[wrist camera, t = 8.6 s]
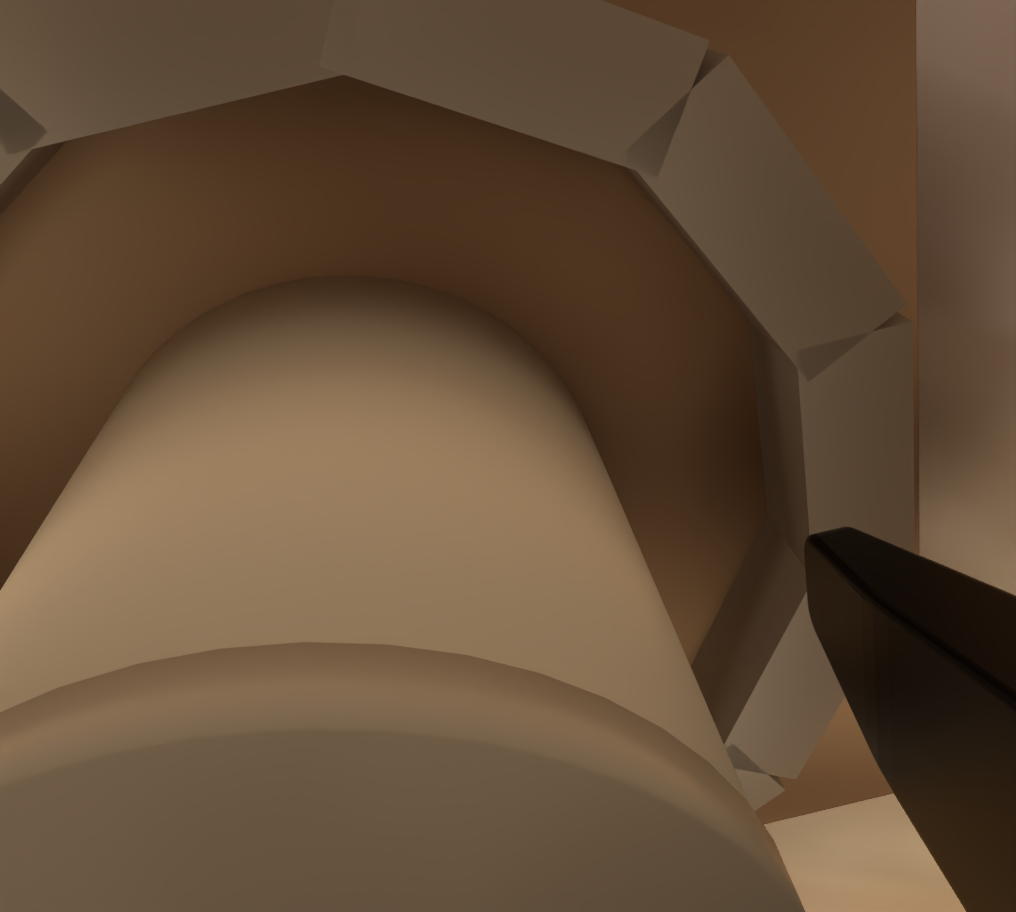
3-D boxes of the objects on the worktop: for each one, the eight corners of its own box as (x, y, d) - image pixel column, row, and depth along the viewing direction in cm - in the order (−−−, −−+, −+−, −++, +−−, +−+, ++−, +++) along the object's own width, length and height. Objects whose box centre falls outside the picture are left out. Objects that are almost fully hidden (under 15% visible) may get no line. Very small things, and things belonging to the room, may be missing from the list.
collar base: (891, 740, 16) (972, 866, 14) (65, 938, 16) (11, 1096, 14) (863, -302, 9) (1011, -387, 7) (-542, 31, 9) (-832, 52, 7)
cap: (637, 650, 13) (859, 1266, 7) (202, 754, 13) (30, 1464, 7) (554, 211, 10) (806, 586, 4) (-1, 345, 10) (-597, 924, 4)
